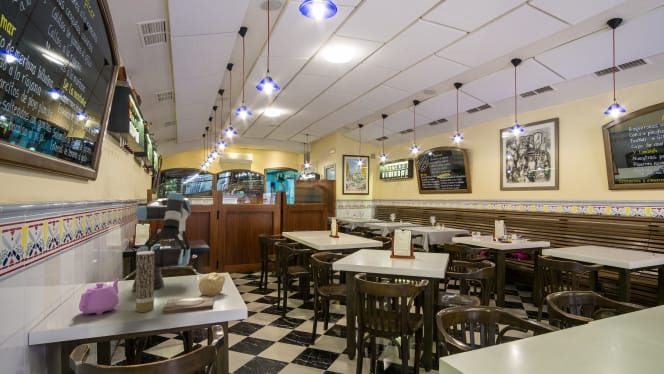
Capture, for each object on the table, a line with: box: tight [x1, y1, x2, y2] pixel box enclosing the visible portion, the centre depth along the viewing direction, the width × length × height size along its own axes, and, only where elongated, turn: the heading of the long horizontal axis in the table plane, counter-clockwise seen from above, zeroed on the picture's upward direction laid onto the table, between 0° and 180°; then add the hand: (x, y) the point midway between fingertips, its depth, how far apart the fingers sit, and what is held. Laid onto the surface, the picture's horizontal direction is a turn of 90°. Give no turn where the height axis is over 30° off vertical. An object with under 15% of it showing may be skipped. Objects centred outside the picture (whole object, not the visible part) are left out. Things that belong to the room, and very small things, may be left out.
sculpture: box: [198, 272, 226, 296], centre depth 172 cm, size 11×12×11 cm
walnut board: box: [161, 295, 215, 315], centre depth 153 cm, size 16×20×2 cm
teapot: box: [78, 277, 120, 316], centre depth 147 cm, size 20×14×12 cm
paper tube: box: [135, 251, 155, 313], centre depth 148 cm, size 7×7×25 cm
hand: (165, 262), depth 163 cm, fingers open, 13 cm apart
